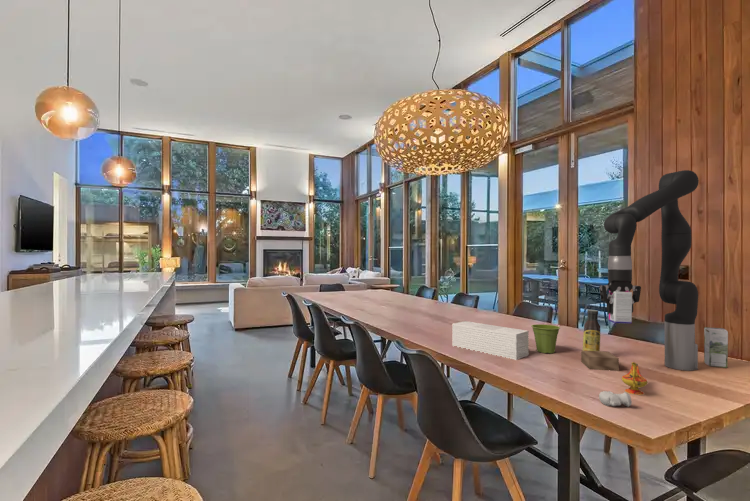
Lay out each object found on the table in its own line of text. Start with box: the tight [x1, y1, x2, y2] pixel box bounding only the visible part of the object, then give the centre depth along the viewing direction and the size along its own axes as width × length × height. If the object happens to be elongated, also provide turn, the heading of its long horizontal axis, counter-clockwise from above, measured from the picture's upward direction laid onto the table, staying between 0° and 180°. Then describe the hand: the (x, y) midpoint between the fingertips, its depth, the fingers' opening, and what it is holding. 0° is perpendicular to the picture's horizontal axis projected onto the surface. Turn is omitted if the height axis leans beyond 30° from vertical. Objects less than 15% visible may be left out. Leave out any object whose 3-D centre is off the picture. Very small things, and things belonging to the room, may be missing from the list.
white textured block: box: [451, 320, 530, 361], centre depth 175 cm, size 32×11×11 cm, turn 43°
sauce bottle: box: [582, 309, 601, 351], centre depth 164 cm, size 6×6×20 cm
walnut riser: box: [580, 349, 620, 372], centre depth 151 cm, size 10×10×5 cm
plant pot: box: [530, 323, 561, 354], centre depth 173 cm, size 12×12×11 cm
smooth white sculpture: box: [598, 390, 633, 408], centre depth 113 cm, size 4×8×5 cm
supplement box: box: [608, 290, 633, 325], centre depth 144 cm, size 6×6×12 cm
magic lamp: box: [621, 361, 648, 396], centre depth 125 cm, size 7×18×11 cm, turn 145°
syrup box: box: [703, 326, 729, 369], centre depth 152 cm, size 6×6×14 cm
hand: (619, 313), depth 144 cm, fingers closed on supplement box, 6 cm apart
